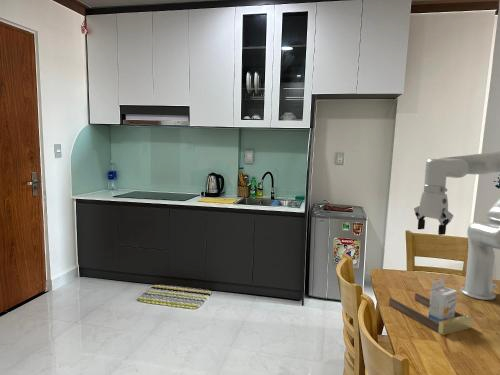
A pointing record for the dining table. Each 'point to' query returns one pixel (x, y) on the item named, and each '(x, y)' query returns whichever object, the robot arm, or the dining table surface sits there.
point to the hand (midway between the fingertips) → (431, 231)
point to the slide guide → (442, 327)
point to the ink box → (441, 302)
